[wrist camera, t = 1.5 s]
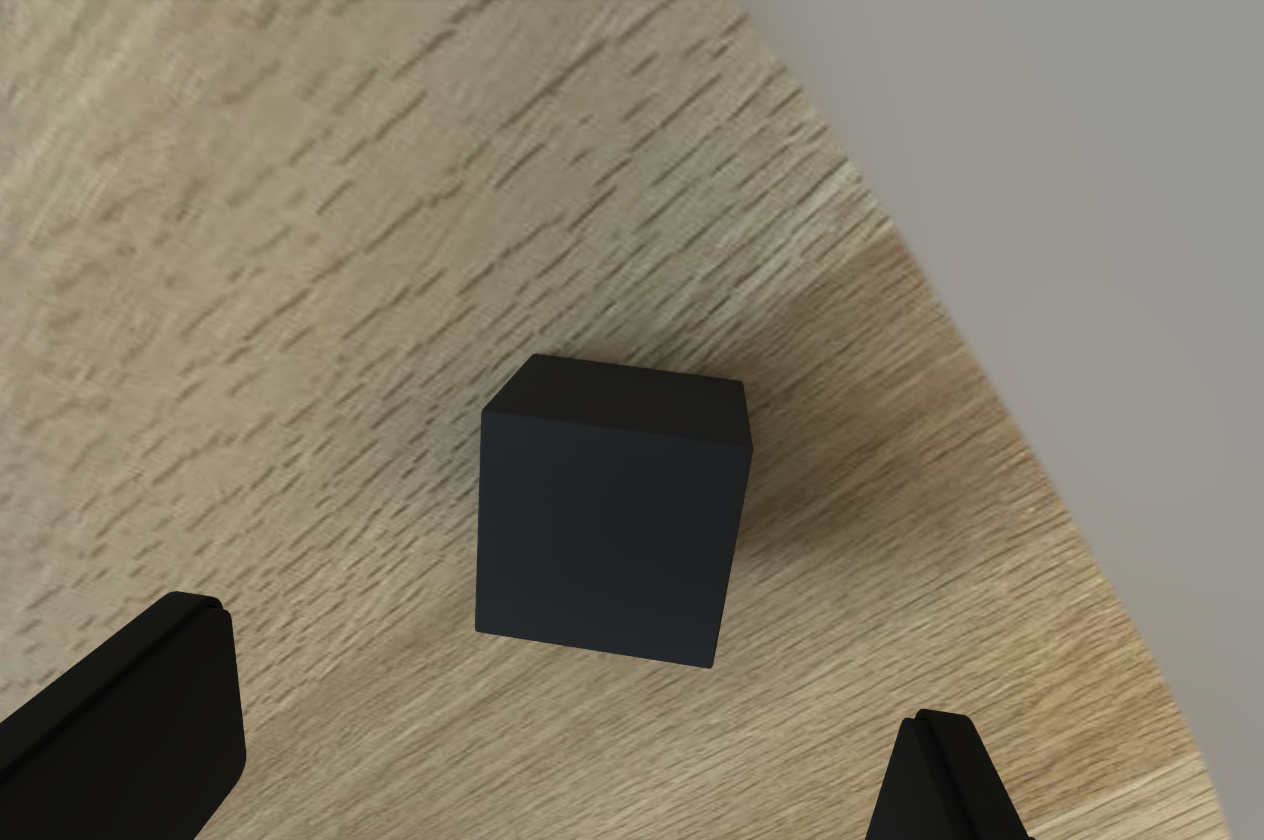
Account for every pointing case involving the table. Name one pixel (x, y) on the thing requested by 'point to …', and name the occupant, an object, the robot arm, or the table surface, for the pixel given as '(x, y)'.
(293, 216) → the table surface
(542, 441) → the black cube
